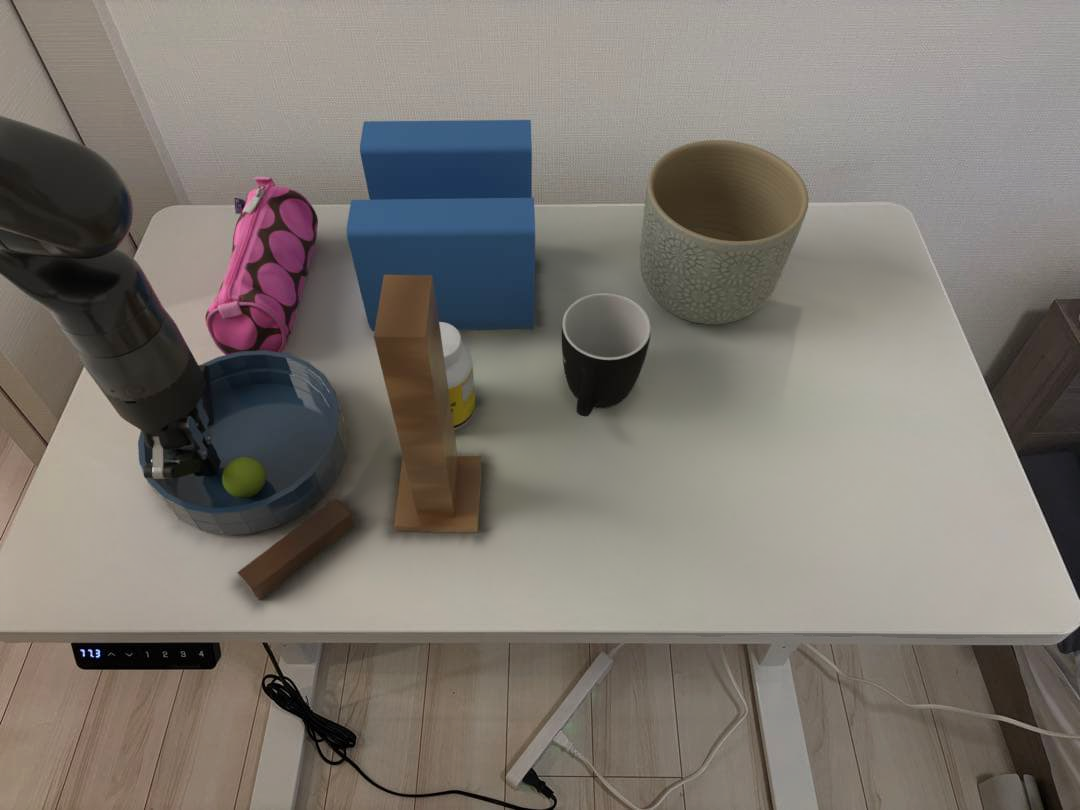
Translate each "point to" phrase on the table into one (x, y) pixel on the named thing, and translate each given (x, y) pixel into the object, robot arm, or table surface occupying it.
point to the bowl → (262, 443)
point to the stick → (296, 548)
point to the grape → (244, 477)
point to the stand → (423, 412)
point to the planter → (718, 228)
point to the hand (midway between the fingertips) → (209, 469)
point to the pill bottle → (458, 375)
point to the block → (449, 218)
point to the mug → (603, 349)
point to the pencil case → (264, 270)
